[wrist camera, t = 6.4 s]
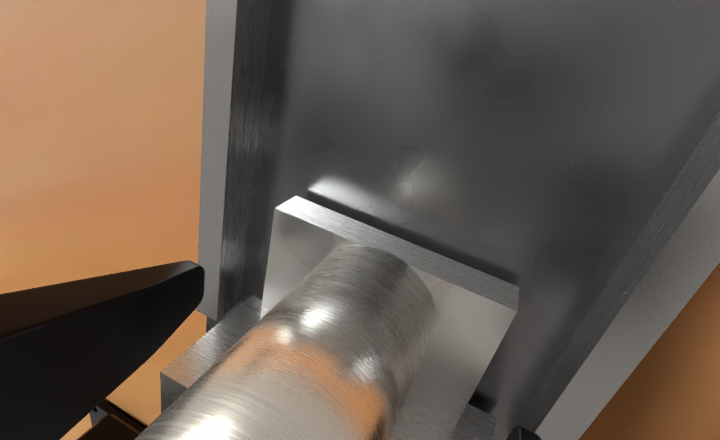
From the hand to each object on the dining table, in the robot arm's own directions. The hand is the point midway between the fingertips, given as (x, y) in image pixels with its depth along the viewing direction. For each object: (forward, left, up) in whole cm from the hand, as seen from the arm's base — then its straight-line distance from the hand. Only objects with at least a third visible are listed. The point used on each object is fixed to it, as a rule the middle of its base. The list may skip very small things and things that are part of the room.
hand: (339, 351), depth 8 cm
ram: (-2, 0, -3) cm, 3 cm away
